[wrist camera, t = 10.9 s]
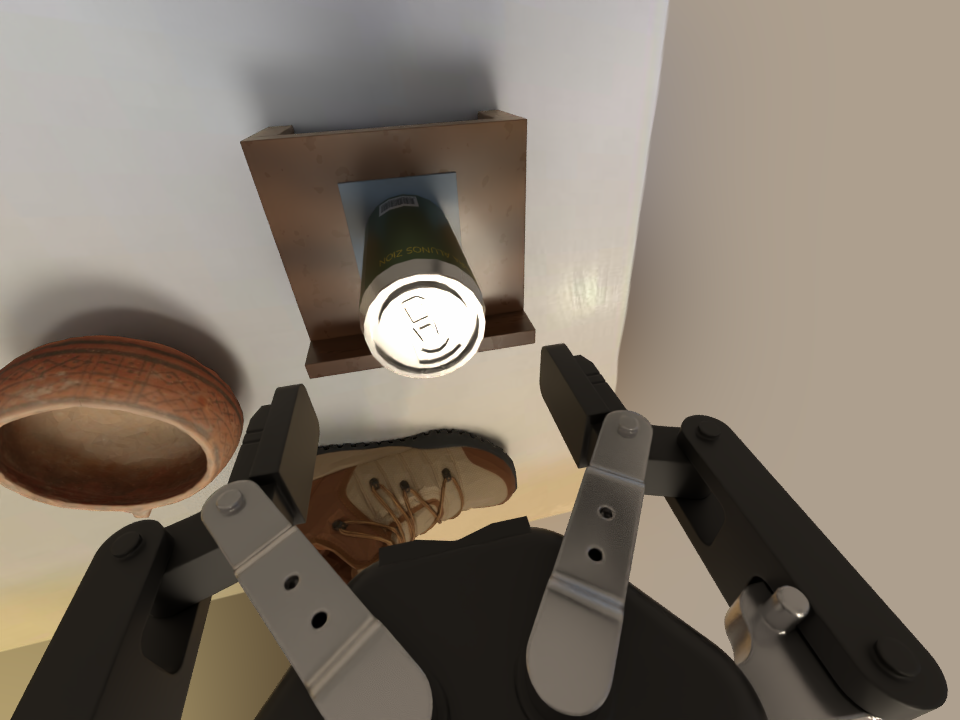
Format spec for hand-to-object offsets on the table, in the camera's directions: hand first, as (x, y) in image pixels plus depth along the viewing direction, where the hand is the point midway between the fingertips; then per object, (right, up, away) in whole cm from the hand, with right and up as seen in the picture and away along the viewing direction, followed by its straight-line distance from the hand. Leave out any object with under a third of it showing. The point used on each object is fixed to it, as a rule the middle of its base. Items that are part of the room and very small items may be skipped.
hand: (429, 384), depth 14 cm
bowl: (-27, -1, +22) cm, 35 cm away
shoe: (-8, -12, +35) cm, 38 cm away
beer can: (-3, +9, +12) cm, 16 cm away
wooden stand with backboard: (-4, +12, +18) cm, 23 cm away
